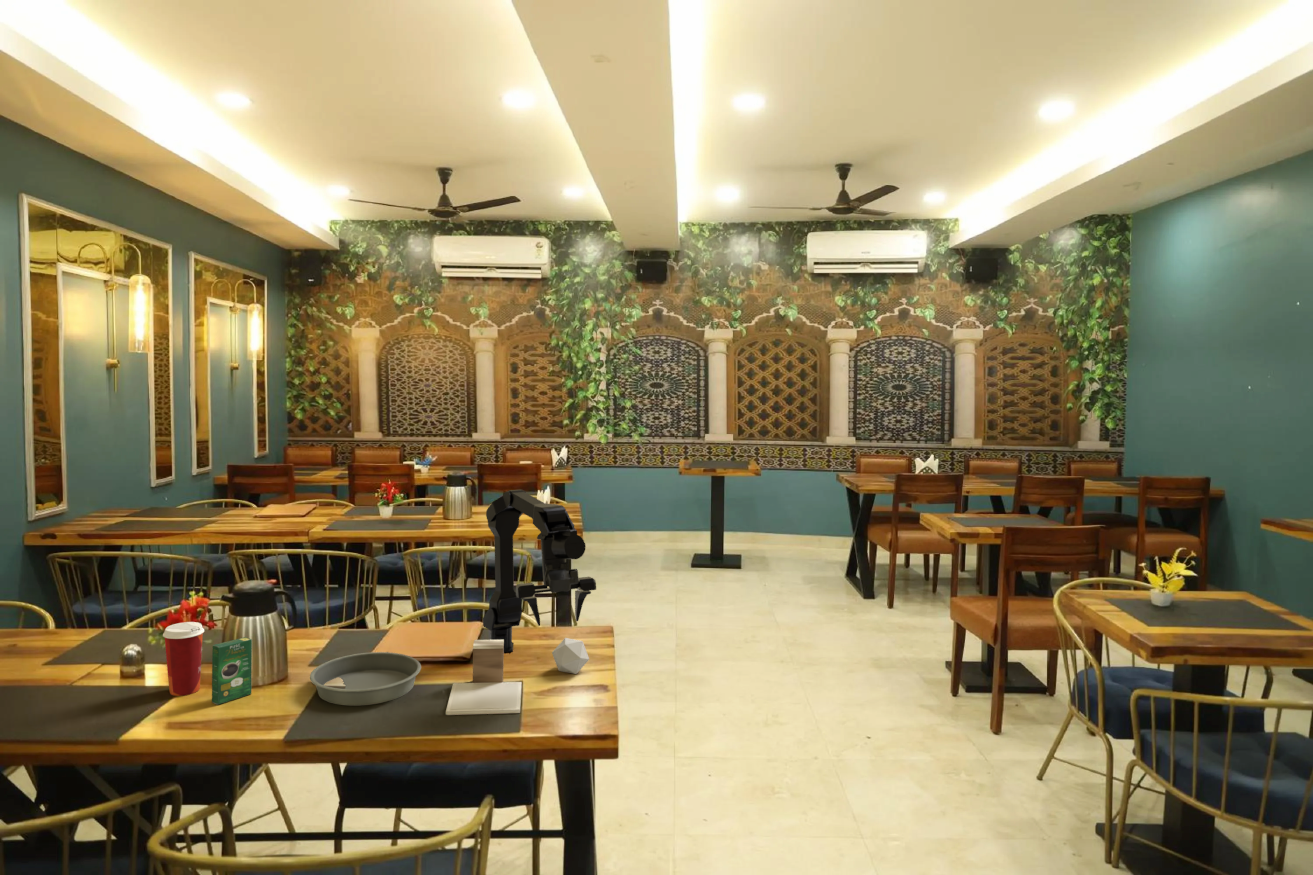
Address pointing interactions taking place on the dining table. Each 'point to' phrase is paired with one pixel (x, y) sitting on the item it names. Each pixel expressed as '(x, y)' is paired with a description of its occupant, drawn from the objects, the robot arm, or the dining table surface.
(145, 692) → the dining table surface
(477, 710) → the shallow cream tray
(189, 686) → the coffee cup
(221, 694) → the coffee box
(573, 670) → the die
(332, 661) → the cake pan
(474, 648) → the walnut block
